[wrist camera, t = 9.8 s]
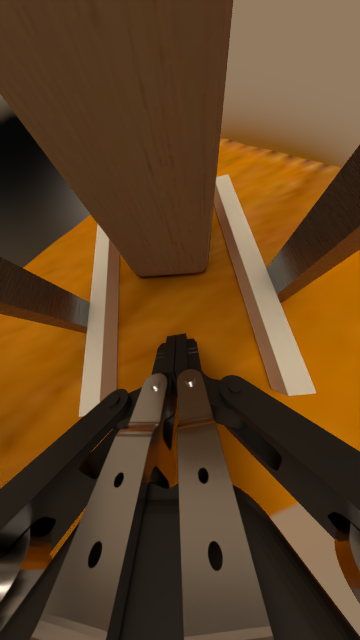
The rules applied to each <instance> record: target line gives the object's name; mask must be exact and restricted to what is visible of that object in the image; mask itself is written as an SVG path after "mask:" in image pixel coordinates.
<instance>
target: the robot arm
mask: <svg viewBox="0 0 360 640" xmlns="http://www.w3.org/2000/svg"><path fill="white" fill-rule="evenodd" d="M177 397H178V408H179V425H178V426H177V453H178V482H179V484H177V485H175V486H174V482H175V458H174V446H175V435H176V424H177V413H178V408H177ZM216 423H219V424H222V425H225V427H226V428H227V429H228V430H229V431H230V432H231V433H232V434H233V435H234V436H235V437H236V438H237V439H238V440H239V442H240V443H241V444H242V445H243V446H244V447H245V448H246V449H247V450H248V451H249V452H250V453H251V454H252V455H253V456H254V457H255V458H256V459H257V460H258V461H259V462H260V463H261V464H262V465H263V466H264V467H265V468H266V469H267V470H268V471H269V472H270V473H271V474H272V475H273V477H274V478H275V479H276V480H277V481H278V482H279V483H280V484H281V485H282V486H283V487H284V488H285V489H286V490H287V491H288V492H289V493H290V494H291V495H292V496H293V497H294V498H295V499H296V500H297V501H298V502H299V503H300V504H301V505H302V506H303V507H304V508H305V509H306V510H307V512H309V514H310V515H311V516H312V517H313V518H314V519H315V520H316V521H317V522H318V523H319V524H320V525H321V526H322V527H323V528H324V529H325V530H326V531H327V532H328V533H329V534H330V535H331V536H332V537H333V538H334V539H335V551H336V555H337V559H338V562H339V565H340V567H341V570H342V572H343V574H344V577H345V579H346V581H347V583H348V585H349V587H350V588H351V590H352V592H353V593H354V595H355V597H356V599H357V600H358V602H359V603H360V451H358V450H356V449H355V448H353V447H352V446H350V445H348V444H347V443H345V442H343V441H342V440H340V439H339V438H337V437H335V436H334V435H332V434H331V433H329V432H327V431H326V430H324V429H323V428H321V427H319V426H318V425H316V424H315V423H313V422H311V421H310V420H308V419H307V418H305V417H303V416H302V415H300V414H299V413H297V412H295V411H294V410H292V409H291V408H289V407H287V406H286V405H284V404H283V403H281V402H279V401H278V400H276V399H275V398H273V397H271V396H270V395H268V394H267V393H265V392H263V391H262V390H260V389H258V388H257V387H255V386H254V385H252V384H250V383H249V382H247V381H246V380H244V379H242V378H241V377H238V376H234V375H230V376H226V377H224V378H223V379H222V380H215V379H211V378H209V377H207V376H206V375H204V374H203V372H202V370H201V365H200V359H199V353H198V348H197V342H196V341H195V340H194V339H187V336H186V333H185V334H179V335H173V336H167V340H166V343H163V344H161V345H160V346H159V348H158V351H157V355H156V359H155V363H154V367H153V371H152V375H151V376H150V377H148V378H147V379H146V381H145V382H144V384H143V387H141V388H139V389H137V390H135V391H133V392H130V393H127V391H126V390H124V389H118V390H115V391H113V392H112V393H110V394H109V395H108V396H107V397H105V398H104V399H103V400H102V401H101V402H100V403H99V404H97V405H96V406H95V407H94V408H93V409H92V410H91V411H89V412H88V413H87V414H86V415H85V416H84V417H83V418H81V419H80V420H79V421H78V422H77V423H76V424H75V425H73V426H72V427H71V428H70V429H69V430H68V431H66V432H65V433H64V434H63V435H62V436H61V437H60V438H58V439H57V440H56V441H55V442H54V443H53V444H52V445H50V446H49V447H48V448H47V449H46V450H45V451H44V452H42V453H41V454H40V455H39V456H38V457H37V458H35V459H34V460H33V461H32V462H31V463H30V464H29V465H27V466H26V467H25V468H24V469H23V470H22V471H21V472H19V473H18V474H17V475H16V476H15V477H14V478H13V479H11V480H10V481H9V482H8V483H7V484H6V485H5V486H3V487H2V488H1V489H0V640H360V636H359V635H358V634H357V632H356V631H355V630H354V628H353V627H352V626H351V624H350V623H349V622H348V620H347V619H346V618H345V617H344V615H343V614H342V613H341V611H340V610H339V609H338V607H337V606H336V605H335V603H334V602H333V601H332V599H331V598H330V597H329V595H328V594H327V593H326V591H325V590H324V589H323V587H322V586H321V585H320V583H319V582H318V581H317V579H316V578H315V577H314V575H313V574H312V573H311V571H310V570H309V569H308V567H307V566H306V565H305V564H304V562H303V561H302V560H301V558H300V557H299V556H298V554H297V553H296V552H295V551H294V549H293V548H292V546H291V545H290V544H289V543H288V541H287V540H286V539H285V537H284V536H283V534H282V533H281V532H280V530H279V529H278V528H277V526H276V525H275V524H274V523H273V521H272V520H271V519H270V517H269V516H268V515H267V514H266V512H265V511H264V510H263V509H262V508H261V507H260V506H259V505H258V503H257V502H256V501H254V500H253V499H252V498H251V497H250V496H249V495H248V494H246V493H245V492H244V491H242V490H241V489H240V488H238V487H236V486H234V485H232V482H231V478H230V475H229V471H228V467H227V464H226V460H225V456H224V452H223V449H222V445H221V441H220V438H219V434H218V430H217V427H216ZM112 429H113V430H112ZM111 430H112V431H111ZM110 431H111V432H110ZM109 432H110V433H109ZM108 433H109V434H108ZM107 434H108V435H107ZM106 435H107V436H106ZM105 436H106V437H105ZM104 437H105V438H104ZM103 438H104V439H103ZM102 439H103V440H102ZM101 440H102V441H101ZM100 441H101V443H100V444H99V445H98V443H99V442H100ZM97 445H98V446H97ZM96 446H97V447H96ZM95 447H96V448H95ZM94 448H95V449H94ZM93 449H94V450H93ZM92 450H93V451H92ZM91 451H92V452H91ZM86 506H87V507H86ZM85 507H86V509H85V511H84V514H83V516H82V519H81V521H80V522H79V524H78V525H77V526H76V528H75V529H74V530H73V532H72V533H71V535H70V536H69V537H68V539H67V540H66V541H65V543H64V544H63V546H62V547H61V548H60V550H59V551H58V553H57V554H56V555H55V557H54V558H53V559H52V556H51V555H50V552H51V551H52V550H53V548H54V547H55V546H56V545H57V543H58V542H59V541H60V539H61V538H62V537H63V536H64V534H65V533H66V532H67V530H68V529H69V528H70V526H71V525H72V524H73V523H74V521H75V520H76V519H77V517H78V516H79V515H80V513H81V512H82V511H83V510H84V508H85Z"/></svg>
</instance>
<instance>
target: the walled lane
mask: <svg viewBox="0 0 360 640" xmlns="http://www.w3.org/2000/svg"><path fill="white" fill-rule="evenodd" d="M214 206H215V209H216V212H217V216H218V219H219V222H220V225H221V228H222V232H223V235H224V238H225V241H226V245H227V248H228V251H229V254H230V257H231V261H232V264H233V267H234V270H235V274H236V277H237V280H238V283H239V286H240V290H241V293H242V296H243V299H244V302H245V306H246V309H247V312H248V315H249V319H250V322H251V325H252V328H253V331H254V335H255V338H256V341H257V344H258V348H259V351H260V354H261V357H262V360H263V364H264V367H265V370H266V373H267V377H268V380H269V383H270V386H271V389H273V390H275V391H278V392H280V393H283V394H285V395H288V396H293V395H303V394H314V393H316V391H315V388H314V386H313V383H312V381H311V378H310V376H309V373H308V371H307V368H306V366H305V363H304V361H303V358H302V356H301V353H300V351H299V349H298V346H297V344H296V341H295V339H294V336H293V334H292V331H291V329H290V326H289V324H288V321H287V319H286V316H285V314H284V311H283V309H282V306H281V304H280V302H279V299H278V297H277V294H276V292H275V289H274V287H273V284H272V282H271V279H270V277H269V274H268V272H267V269H266V267H265V264H264V262H263V259H262V257H261V255H260V252H259V250H258V247H257V245H256V242H255V240H254V237H253V235H252V232H251V230H250V227H249V225H248V222H247V220H246V217H245V215H244V212H243V210H242V208H241V205H240V203H239V200H238V198H237V195H236V193H235V190H234V188H233V185H232V183H231V180H230V178H229V175H228V174H227V175H223V176H219V177H216V185H215V195H214ZM119 257H120V253H119V251H118V250H117V249H116V247H115V246H114V245H113V243H112V242H111V241H110V239H109V238H108V237H107V235H106V234H105V233H104V231H103V230H102V229H101V227H100V226H99V225H98V226H97V237H96V247H95V257H94V267H93V277H92V287H91V297H90V307H89V317H88V328H87V338H86V348H85V358H84V368H83V378H82V388H81V398H80V408H79V417H80V416H85V415H86V414H87V413H88V412H89V411H91V410H92V409H93V408H94V407H95V406H96V405H97V404H99V403H100V402H101V401H102V400H103V399H104V398H105V397H107V396H108V395H109V394H110V393H112V392H113V391H115V390H116V385H117V342H118V300H119Z"/></svg>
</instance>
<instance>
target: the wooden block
mask: <svg viewBox="0 0 360 640" xmlns="http://www.w3.org/2000/svg"><path fill="white" fill-rule="evenodd" d="M232 7H233V0H0V94H1V95H2V96H3V98H4V99H5V101H6V102H7V103H8V105H9V106H10V107H11V109H12V110H13V111H14V113H15V114H16V115H17V117H18V118H19V119H20V121H21V122H22V123H23V124H24V126H25V127H26V128H27V130H28V131H29V132H30V134H31V135H32V136H33V138H34V139H35V141H36V142H37V143H38V145H39V146H40V147H41V149H42V150H43V151H44V152H45V154H46V155H47V157H48V158H49V159H50V161H51V162H52V163H53V165H54V166H55V167H56V169H57V170H58V171H59V173H60V174H61V175H62V176H63V178H64V179H65V180H66V182H67V183H68V184H69V186H70V187H71V189H72V190H73V191H74V193H75V194H76V195H77V196H78V198H79V199H80V201H81V202H82V203H83V205H84V206H85V207H86V209H87V210H88V211H89V212H90V214H91V215H92V217H93V218H94V219H95V221H96V222H97V223H98V225H99V226H100V227H101V229H102V230H103V231H104V233H105V234H106V235H107V237H108V238H109V239H110V241H111V242H112V243H113V245H114V246H115V247H116V249H117V250H118V251H119V253H120V254H121V255H122V257H123V258H124V259H125V261H126V262H127V263H128V265H129V266H130V267H131V269H132V270H133V271H134V273H135V274H136V275H138V276H142V277H145V276H159V275H172V274H186V273H199V272H202V271H205V269H206V267H207V265H208V258H209V248H210V237H211V227H212V216H213V206H214V195H215V185H216V175H217V164H218V154H219V143H220V133H221V122H222V112H223V101H224V91H225V80H226V70H227V59H228V49H229V38H230V28H231V17H232Z"/></svg>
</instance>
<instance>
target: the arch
mask: <svg viewBox="0 0 360 640" xmlns="http://www.w3.org/2000/svg"><path fill="white" fill-rule="evenodd" d="M358 250H360V145H359V146H358V148H357V149H356V150H355V152H354V153H353V154H352V156H351V157H350V158H349V160H348V161H347V162H346V164H345V165H344V166H343V168H342V169H341V170H340V172H339V173H338V174H337V176H336V177H335V178H334V180H333V181H332V182H331V184H330V185H329V186H328V188H327V189H326V190H325V192H324V193H323V194H322V196H321V197H320V198H319V200H318V201H317V202H316V204H315V205H314V206H313V208H312V209H311V210H310V212H309V213H308V214H307V216H306V217H305V218H304V220H303V221H302V222H301V224H300V225H299V226H298V228H297V229H296V230H295V232H294V233H293V234H292V236H291V237H290V238H289V240H288V241H287V242H286V244H285V245H284V246H283V248H282V249H281V250H280V252H279V253H278V254H277V256H276V257H275V258H274V259H273V261H272V262H271V263H270V265H269V266H268V267H267V272H268V274H269V277H270V279H271V282H272V284H273V287H274V289H275V292H276V294H277V297H278V299H279V302H283V301H285V300H286V299H288V298H289V297H290V296H292V295H293V294H295V293H296V292H298V291H299V290H301V289H302V288H304V287H305V286H307V285H308V284H310V283H311V282H313V281H314V280H315V279H317V278H318V277H320V276H321V275H323V274H324V273H326V272H327V271H329V270H330V269H332V268H333V267H335V266H336V265H338V264H339V263H341V262H342V261H343V260H345V259H346V258H348V257H349V256H351V255H352V254H354V253H355V252H357V251H358ZM89 307H90V303H89V302H87V301H85V300H83V299H82V298H80V297H78V296H76V295H74V294H72V293H70V292H68V291H66V290H64V289H62V288H60V287H58V286H56V285H54V284H52V283H50V282H48V281H46V280H44V279H43V278H41V277H39V276H37V275H35V274H33V273H31V272H29V271H27V270H25V269H23V268H21V267H19V266H17V265H15V264H13V263H11V262H9V261H7V260H5V259H3V258H1V257H0V314H3V315H8V316H12V317H17V318H21V319H26V320H30V321H34V322H39V323H43V324H48V325H52V326H57V327H61V328H65V329H70V330H74V331H79V332H83V333H87V328H88V317H89Z"/></svg>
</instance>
